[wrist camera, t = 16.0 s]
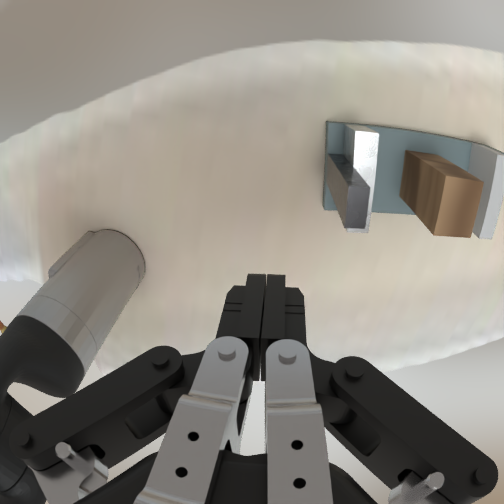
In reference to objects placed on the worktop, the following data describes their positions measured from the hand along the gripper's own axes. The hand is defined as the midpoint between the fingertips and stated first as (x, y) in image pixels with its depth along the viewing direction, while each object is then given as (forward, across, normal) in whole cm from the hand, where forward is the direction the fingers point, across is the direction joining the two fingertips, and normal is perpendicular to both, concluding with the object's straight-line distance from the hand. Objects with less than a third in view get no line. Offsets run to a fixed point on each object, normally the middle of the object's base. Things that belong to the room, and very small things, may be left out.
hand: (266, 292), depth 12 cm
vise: (+21, -15, 0) cm, 26 cm away
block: (+19, -15, 0) cm, 24 cm away
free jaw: (+19, -7, 0) cm, 20 cm away
